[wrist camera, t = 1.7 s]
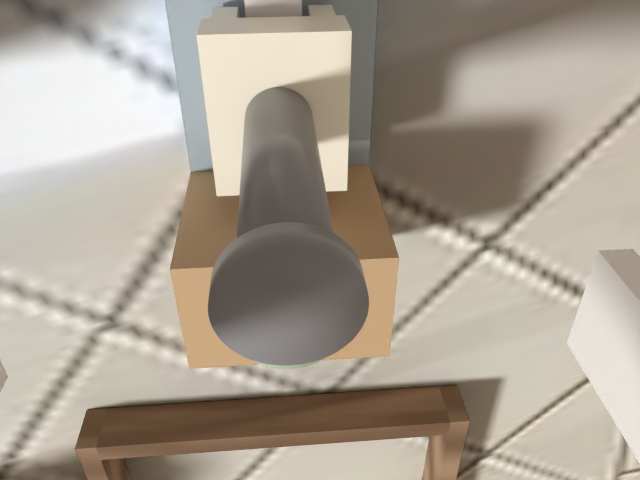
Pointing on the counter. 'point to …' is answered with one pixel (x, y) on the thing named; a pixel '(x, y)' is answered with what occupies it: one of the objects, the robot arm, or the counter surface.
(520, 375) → the counter surface
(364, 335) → the rail
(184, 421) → the wooden frame
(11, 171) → the counter surface
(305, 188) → the carriage
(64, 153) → the counter surface
